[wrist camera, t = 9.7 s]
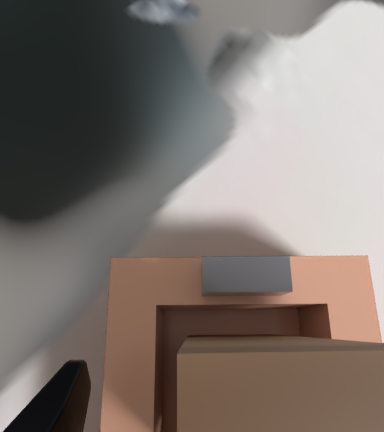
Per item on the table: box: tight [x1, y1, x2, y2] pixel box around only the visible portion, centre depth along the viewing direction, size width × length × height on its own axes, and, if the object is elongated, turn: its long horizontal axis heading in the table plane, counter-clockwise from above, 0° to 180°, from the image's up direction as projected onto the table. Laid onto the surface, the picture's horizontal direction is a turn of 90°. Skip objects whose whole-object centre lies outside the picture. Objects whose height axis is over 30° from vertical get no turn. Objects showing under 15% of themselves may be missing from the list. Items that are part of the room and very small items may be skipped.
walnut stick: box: [177, 334, 384, 432], centre depth 10 cm, size 4×4×12 cm
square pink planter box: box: [100, 256, 382, 432], centre depth 13 cm, size 10×10×6 cm
